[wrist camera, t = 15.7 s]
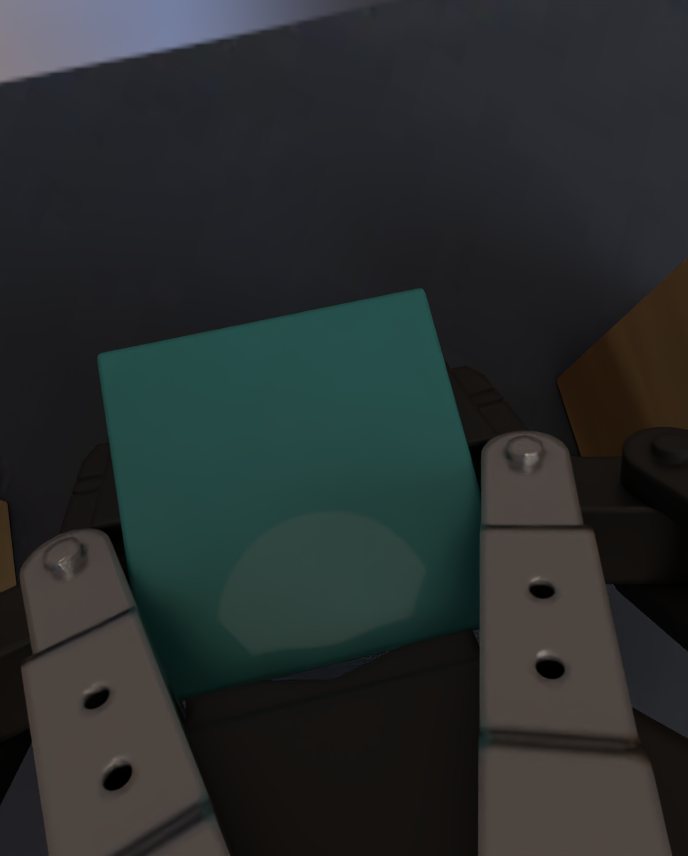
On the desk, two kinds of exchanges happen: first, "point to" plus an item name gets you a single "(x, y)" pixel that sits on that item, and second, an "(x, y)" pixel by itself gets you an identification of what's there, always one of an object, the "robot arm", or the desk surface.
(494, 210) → the desk surface
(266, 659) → the teal block
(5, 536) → the block left
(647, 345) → the block right
